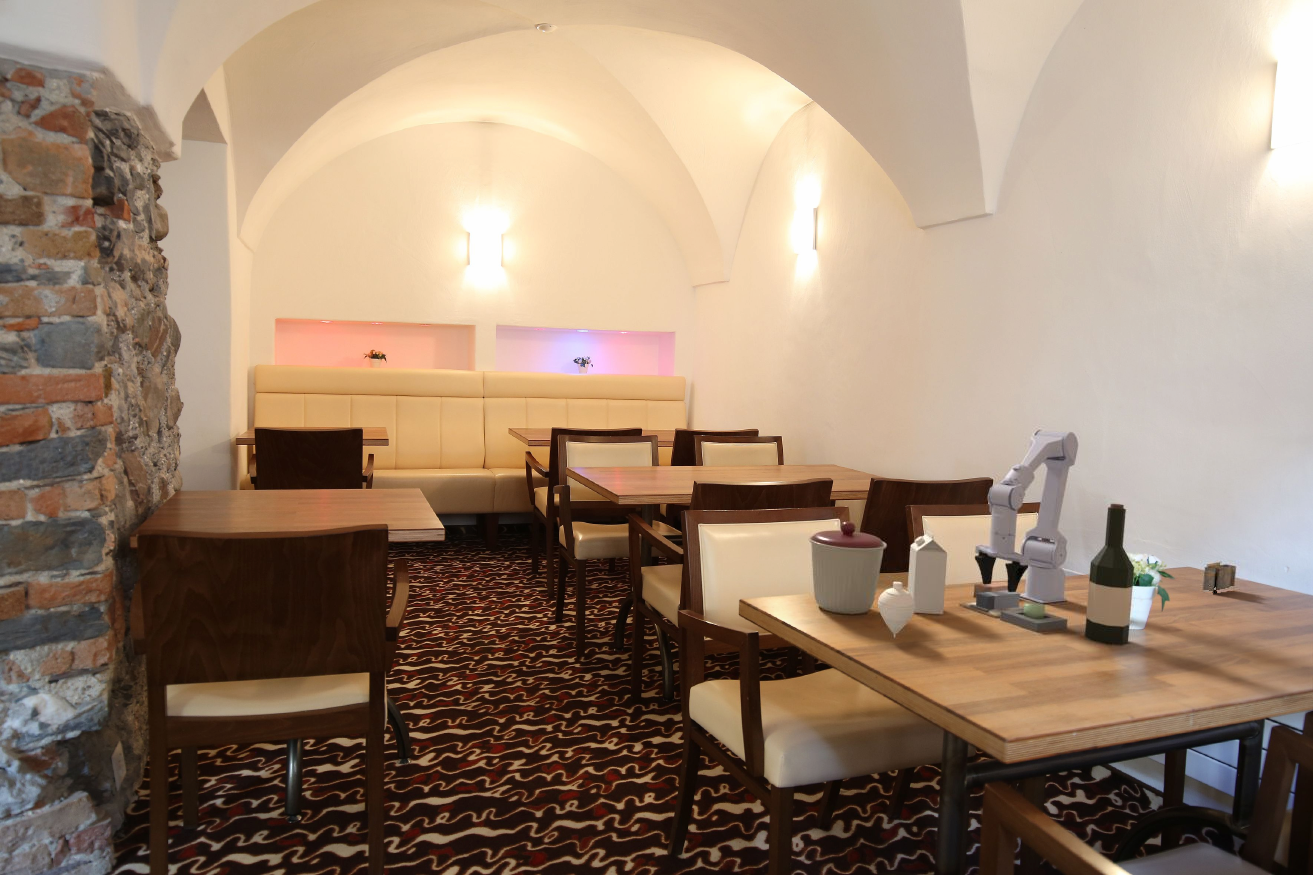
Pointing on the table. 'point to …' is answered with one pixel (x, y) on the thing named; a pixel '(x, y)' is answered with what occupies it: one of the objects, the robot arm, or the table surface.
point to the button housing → (1033, 621)
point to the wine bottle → (1110, 585)
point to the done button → (1034, 610)
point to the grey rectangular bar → (997, 600)
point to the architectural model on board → (1219, 576)
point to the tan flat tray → (991, 613)
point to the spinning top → (896, 607)
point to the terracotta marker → (990, 587)
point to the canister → (846, 569)
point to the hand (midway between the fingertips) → (999, 587)
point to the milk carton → (927, 575)
